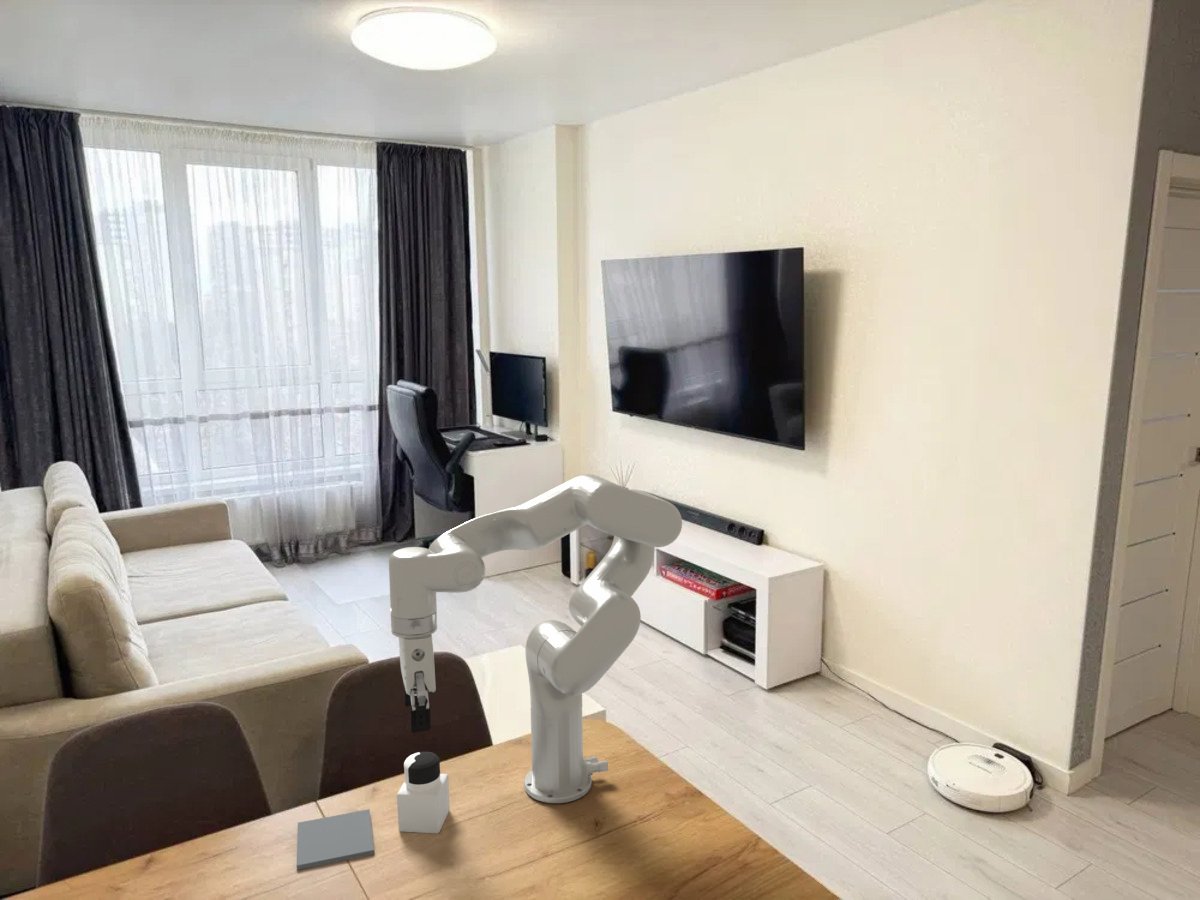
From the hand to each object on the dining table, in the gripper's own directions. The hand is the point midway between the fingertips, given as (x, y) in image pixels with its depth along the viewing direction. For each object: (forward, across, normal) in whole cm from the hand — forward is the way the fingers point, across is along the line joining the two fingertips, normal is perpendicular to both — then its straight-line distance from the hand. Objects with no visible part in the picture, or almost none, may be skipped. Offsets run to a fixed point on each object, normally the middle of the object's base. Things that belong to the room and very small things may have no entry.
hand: (417, 717), depth 145 cm
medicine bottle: (+20, 0, -1) cm, 20 cm away
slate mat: (+20, 0, +14) cm, 24 cm away
